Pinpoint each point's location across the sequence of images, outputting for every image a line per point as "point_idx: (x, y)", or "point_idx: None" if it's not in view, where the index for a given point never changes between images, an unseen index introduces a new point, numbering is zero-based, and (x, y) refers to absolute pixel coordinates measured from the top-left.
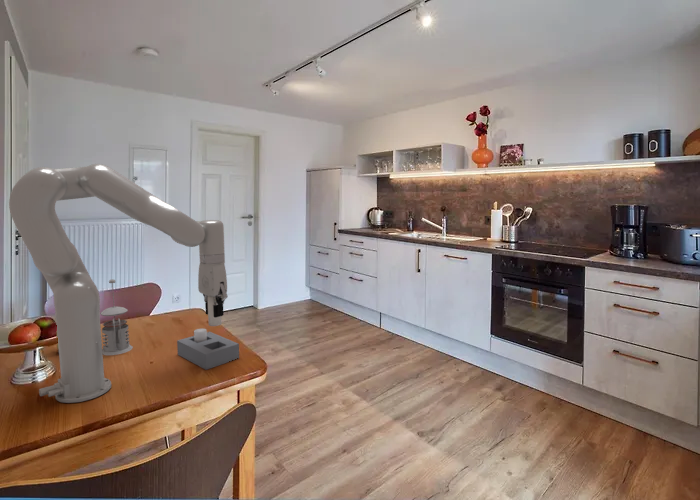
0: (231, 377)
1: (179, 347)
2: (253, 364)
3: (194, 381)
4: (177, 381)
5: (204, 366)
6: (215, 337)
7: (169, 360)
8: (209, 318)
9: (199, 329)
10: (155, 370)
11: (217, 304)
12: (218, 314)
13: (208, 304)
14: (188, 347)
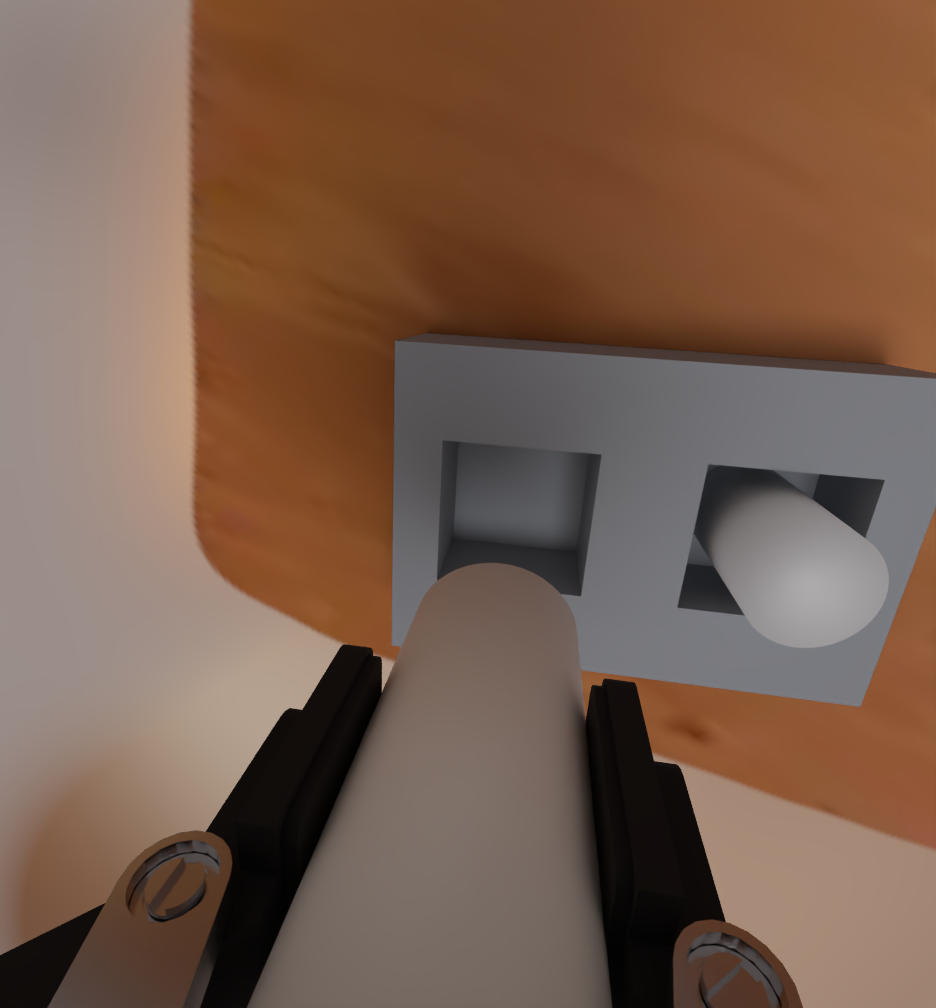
0: (201, 369)
1: (888, 370)
2: (273, 571)
3: (317, 157)
4: (411, 57)
5: (443, 336)
6: (678, 640)
7: (846, 245)
8: (482, 617)
9: (850, 604)
10: (768, 29)
11: (144, 874)
12: (291, 709)
13: (463, 831)
14: (713, 361)
